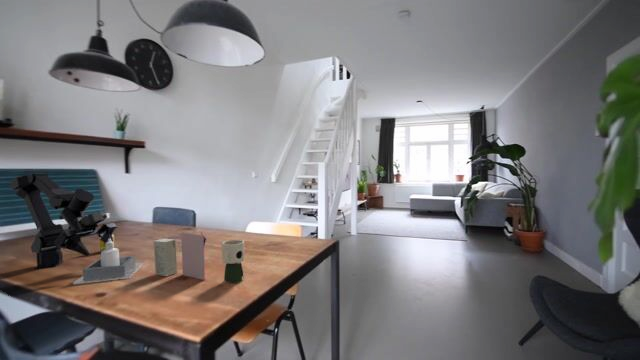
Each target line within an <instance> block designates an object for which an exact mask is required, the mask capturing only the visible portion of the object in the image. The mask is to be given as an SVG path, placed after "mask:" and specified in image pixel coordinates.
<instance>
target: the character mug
mask: <svg viewBox="0 0 640 360" xmlns="http://www.w3.org/2000/svg"><path fill="white" fill-rule="evenodd" d="M245 249H246V248H245V241H244V240H242V239H229V240H225V241H223V242H222V243H221V257H222V259H221V261H222V263H224V264H225V266H224V276H223V281H225V282H228V283H238V282H241V281H243V279H244V278H245V277H244V270H243V265H242V262H244V260H245V258H246V256H245Z"/></svg>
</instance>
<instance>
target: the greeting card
mask: <svg viewBox="0 0 640 360" xmlns="http://www.w3.org/2000/svg"><path fill="white" fill-rule="evenodd" d="M206 241H207V238H206V237H205V236H204V233H203V231H202V229H201V230H200V235H199V234H193V233H187V232H181V258H182V259H181V260H182V261H181V262H182V267H181V268H182V276H186V277H190V278H195V279H199V280H201V281H205V280H206V279H205V278H206V277H205V275H206V274H205V272H206V271H205V245H206Z"/></svg>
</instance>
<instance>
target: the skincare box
mask: <svg viewBox="0 0 640 360" xmlns="http://www.w3.org/2000/svg"><path fill="white" fill-rule="evenodd" d="M176 242H177V241H176V239H173V238H160V239H156V240H154V241H153V248H154V270H155V275H157V276H161V277H169V276H172V275H174V274H177V273H178V267H177V266H178V265H177V264H178V263H177V246H176V245H177V243H176Z"/></svg>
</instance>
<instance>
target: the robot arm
mask: <svg viewBox="0 0 640 360" xmlns="http://www.w3.org/2000/svg"><path fill="white" fill-rule="evenodd" d="M9 184H10V188H11V189H12V190H13V192H14V193H15V195H16V196H18V197H20V198H22V199H23V200H24V201H25V204H26V207H27V209H28V210H29V211H28V212H29V214H30V215H31V217H32V218H31V219H32V220H33V222H34V224H35V227H36V228H37V231H36V232H35V235H34V240H33V242H32V244H31V246H30V250H31V252H32V253H36V266H34V269H41V268H42V269H43V268H51V267H53V268H54V267H57V266H58V265H60V264H62V263H64V260H63V259H64V258H63V251H62V249H64V250H65V249H67V250H70V251H73V252H76V253H79V254H80V255H83V256H86V257H89V255H90V252H89V250H88V249H87V247H86V246H85V244H84V243H83V242H82V238H83V239H85V238H89V237H93V236H98V238H99V241H100V240H101V241H103V242H104V243H106V242H108V239H111V241H112V242H113V238H112V234H113V233H114V232H115V231H116V229H118V226H117V224H116V223H115V222H108V223H107V222H106V223H104V224H102V225H101V226H100V228H98V227H99V225H100V224H99V223H101V222H104V221H105V220H106V219H107V218H108V215H107V213H106V212H105V211H104V210H101V211H98V212H95V213H90V214H87V215H86V214H85V213H84V212H85V211H87V210H88V208H89V207H90V205H91V204H92V203H93V201H94V199H95V196H94V194H93V193H91V192H89V191H87V190H84V188H76V189H75V191H74V192H73V191H71V190H68V189H64V188H62V187H61V186H60V185H58V184H57V183H56V182H55V181H54V180H52V179H51V178H50V177H49V175H48V174H47V173H45V172H31V173H28V174H26V175H22V176H16V177H14V178H13V179H11V181H10V182H9ZM41 192H42V193H43V194H44V195H45V196H47V198H48V205H50V207H51V208H52V209H54V210H61V211H60V213H59V217H58V220H60V221H61V220H64V221H65V222H66V224H67V225H68V227H67V229H68V230H64V228H63V225H62V224H56V223H54V221H53V219H52V217H51V215H50V213H49V210H48V208H47V207H46V204H45V202H44V200H43V197H42V196H41ZM100 237H101V239H100Z"/></svg>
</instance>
